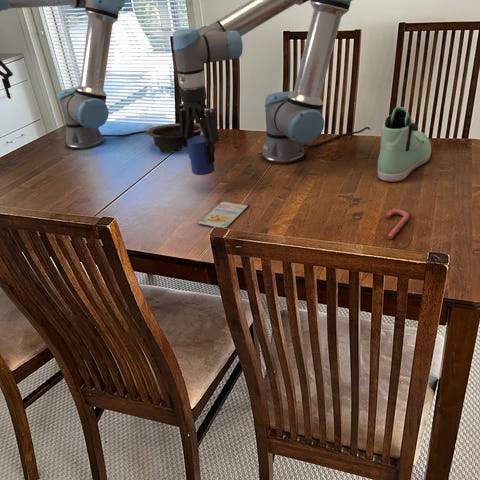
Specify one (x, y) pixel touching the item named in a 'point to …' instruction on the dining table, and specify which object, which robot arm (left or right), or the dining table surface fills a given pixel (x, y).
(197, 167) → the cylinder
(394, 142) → the sneaker
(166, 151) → the stone bowl
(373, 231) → the dining table surface
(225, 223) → the baking ingredient package
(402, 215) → the candy cane
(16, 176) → the dining table surface
